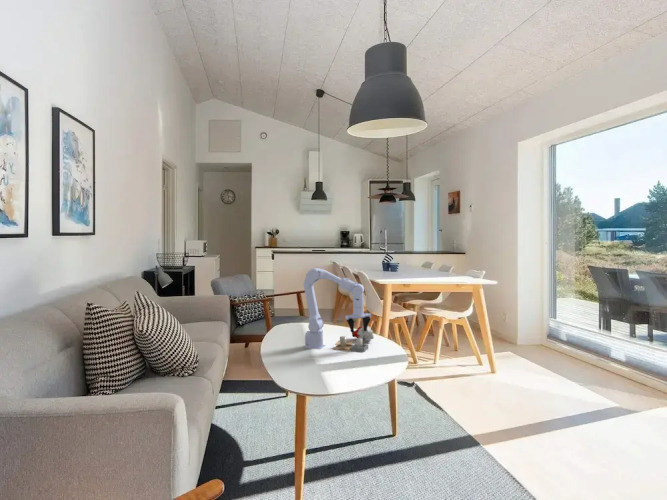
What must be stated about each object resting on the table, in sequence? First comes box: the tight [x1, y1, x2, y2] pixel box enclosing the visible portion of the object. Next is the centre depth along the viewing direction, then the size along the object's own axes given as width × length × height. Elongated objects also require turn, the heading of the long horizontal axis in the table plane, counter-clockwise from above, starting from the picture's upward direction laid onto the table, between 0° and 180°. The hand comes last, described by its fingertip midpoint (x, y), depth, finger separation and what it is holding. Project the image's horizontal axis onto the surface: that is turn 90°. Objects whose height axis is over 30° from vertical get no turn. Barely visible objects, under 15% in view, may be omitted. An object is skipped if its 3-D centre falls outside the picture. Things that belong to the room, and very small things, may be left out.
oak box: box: [333, 343, 355, 352], centre depth 234 cm, size 9×9×2 cm
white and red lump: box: [351, 326, 374, 343], centre depth 250 cm, size 9×11×15 cm
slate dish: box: [351, 342, 369, 353], centre depth 231 cm, size 7×7×2 cm
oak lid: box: [334, 339, 355, 346], centre depth 244 cm, size 9×9×2 cm
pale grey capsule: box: [355, 338, 363, 348], centre depth 231 cm, size 3×3×6 cm
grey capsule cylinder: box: [339, 335, 347, 348], centre depth 236 cm, size 3×3×6 cm
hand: (358, 331), depth 232 cm, fingers open, 7 cm apart
